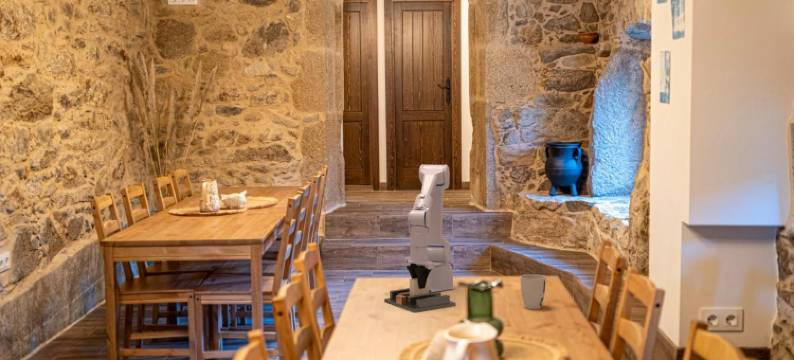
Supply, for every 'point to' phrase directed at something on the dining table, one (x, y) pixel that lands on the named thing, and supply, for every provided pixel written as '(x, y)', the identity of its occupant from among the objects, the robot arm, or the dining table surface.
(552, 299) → the dining table surface
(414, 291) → the tall beige block
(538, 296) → the cup
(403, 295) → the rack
